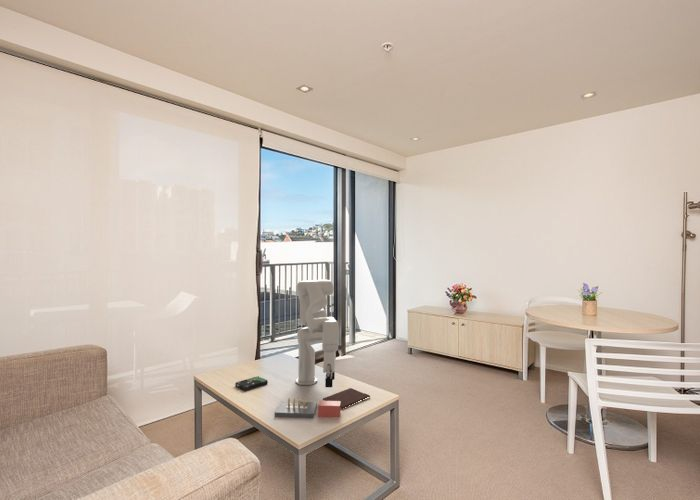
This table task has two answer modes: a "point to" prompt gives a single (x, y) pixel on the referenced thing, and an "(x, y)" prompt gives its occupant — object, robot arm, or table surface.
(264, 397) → the table surface
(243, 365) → the table surface
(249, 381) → the disk drive
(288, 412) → the board
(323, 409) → the block
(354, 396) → the notebook
